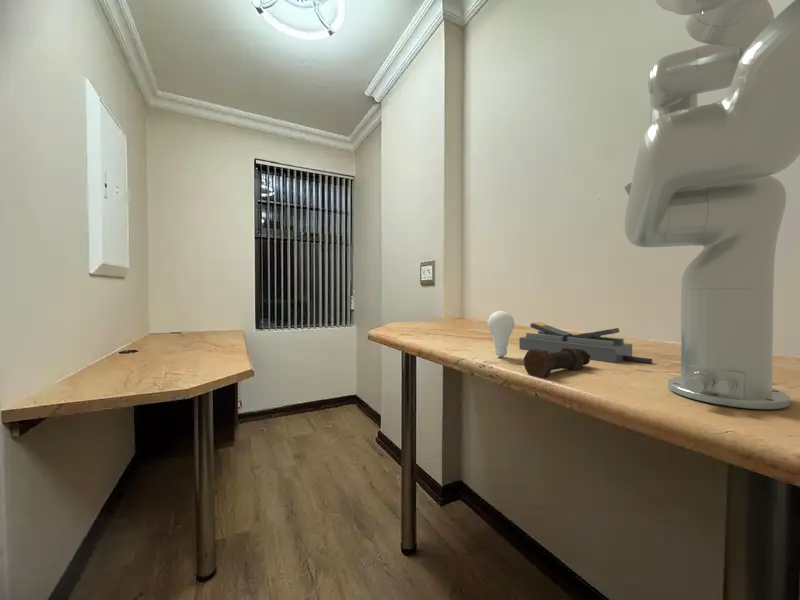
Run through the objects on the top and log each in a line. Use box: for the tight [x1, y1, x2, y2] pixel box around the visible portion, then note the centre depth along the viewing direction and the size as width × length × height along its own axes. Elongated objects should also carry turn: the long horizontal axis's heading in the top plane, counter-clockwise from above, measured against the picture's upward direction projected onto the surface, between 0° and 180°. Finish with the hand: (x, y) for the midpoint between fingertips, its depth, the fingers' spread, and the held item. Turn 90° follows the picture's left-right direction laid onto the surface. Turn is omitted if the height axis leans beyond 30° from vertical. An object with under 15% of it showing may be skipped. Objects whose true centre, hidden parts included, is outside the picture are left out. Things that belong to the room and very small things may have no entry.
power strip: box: [518, 330, 653, 364], centre depth 80 cm, size 9×28×4 cm, turn 36°
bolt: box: [523, 347, 591, 379], centre depth 65 cm, size 6×5×15 cm
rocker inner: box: [571, 327, 620, 338], centre depth 78 cm, size 4×9×1 cm, turn 36°
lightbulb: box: [486, 310, 515, 358], centre depth 79 cm, size 6×6×11 cm
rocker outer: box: [529, 321, 572, 339], centre depth 87 cm, size 4×9×1 cm, turn 36°
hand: (671, 222), depth 69 cm, fingers open, 9 cm apart
